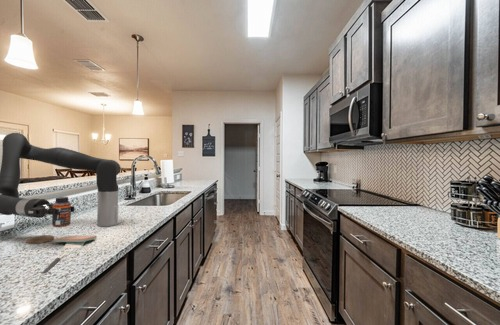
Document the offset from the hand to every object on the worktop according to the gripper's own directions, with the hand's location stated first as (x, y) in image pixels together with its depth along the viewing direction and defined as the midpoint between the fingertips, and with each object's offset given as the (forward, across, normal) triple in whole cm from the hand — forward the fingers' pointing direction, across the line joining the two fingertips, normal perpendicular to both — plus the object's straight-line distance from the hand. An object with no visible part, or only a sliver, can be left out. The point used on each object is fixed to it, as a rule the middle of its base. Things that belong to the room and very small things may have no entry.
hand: (66, 210), depth 103 cm
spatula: (+11, -10, +14) cm, 20 cm away
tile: (-4, +2, +12) cm, 13 cm away
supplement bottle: (-2, 0, +6) cm, 7 cm away
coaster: (-13, 0, +13) cm, 19 cm away
